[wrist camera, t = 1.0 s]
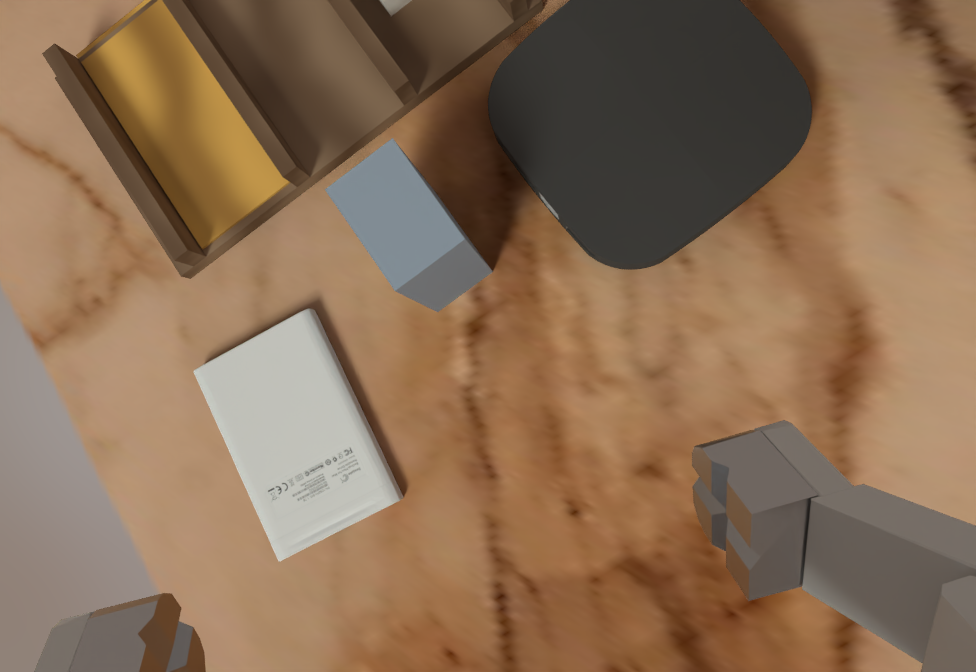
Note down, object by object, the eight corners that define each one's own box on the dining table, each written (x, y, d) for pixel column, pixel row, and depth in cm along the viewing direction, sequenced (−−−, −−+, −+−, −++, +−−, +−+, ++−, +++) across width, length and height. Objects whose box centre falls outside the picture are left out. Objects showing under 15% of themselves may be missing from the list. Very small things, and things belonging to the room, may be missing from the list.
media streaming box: (829, 137, 39) (849, 116, 36) (619, 298, 40) (621, 291, 37) (662, -49, 41) (668, -83, 38) (467, 109, 42) (457, 88, 39)
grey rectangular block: (435, 191, 41) (392, 138, 33) (492, 271, 41) (464, 239, 32) (381, 231, 42) (324, 189, 33) (437, 312, 41) (395, 290, 32)
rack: (391, -183, 44) (354, -291, 37) (543, 9, 41) (533, -67, 34) (64, 81, 46) (-30, 26, 39) (190, 278, 43) (113, 257, 36)
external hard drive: (318, 310, 42) (406, 496, 41) (205, 371, 43) (287, 556, 42) (307, 307, 41) (399, 501, 39) (190, 371, 42) (275, 563, 40)
